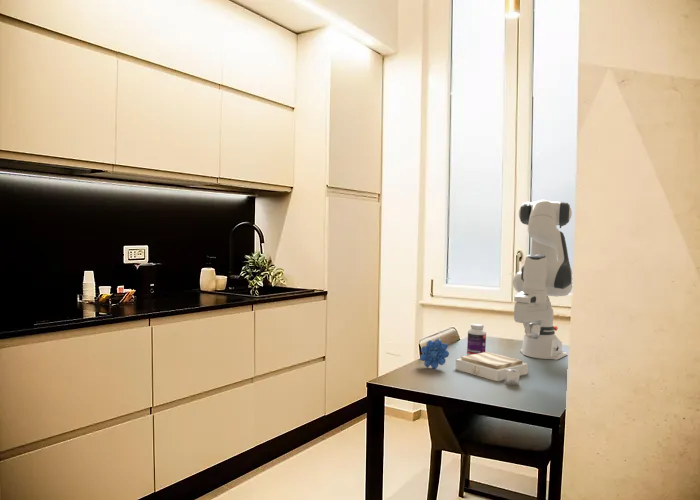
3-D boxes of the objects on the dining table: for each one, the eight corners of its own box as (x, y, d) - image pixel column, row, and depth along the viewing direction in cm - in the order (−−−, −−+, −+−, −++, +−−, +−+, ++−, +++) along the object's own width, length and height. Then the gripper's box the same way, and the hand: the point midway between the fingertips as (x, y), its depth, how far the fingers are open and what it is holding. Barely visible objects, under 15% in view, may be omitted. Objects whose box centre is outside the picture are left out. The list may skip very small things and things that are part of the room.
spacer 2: (530, 334, 200) (530, 322, 200) (541, 337, 196) (542, 324, 196) (522, 336, 197) (523, 323, 197) (534, 338, 193) (535, 325, 193)
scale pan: (487, 354, 218) (487, 351, 218) (522, 363, 205) (522, 360, 205) (461, 359, 208) (461, 356, 208) (496, 369, 194) (496, 366, 194)
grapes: (449, 367, 210) (451, 338, 210) (447, 371, 204) (448, 341, 204) (421, 364, 214) (423, 335, 214) (418, 367, 208) (419, 338, 207)
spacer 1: (510, 381, 193) (510, 368, 193) (521, 384, 189) (522, 371, 189) (502, 383, 190) (502, 369, 190) (513, 386, 186) (514, 373, 186)
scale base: (486, 362, 220) (486, 353, 220) (527, 373, 205) (528, 363, 205) (454, 369, 208) (455, 359, 208) (496, 381, 192) (496, 371, 192)
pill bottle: (485, 359, 227) (487, 326, 227) (467, 357, 229) (468, 325, 228) (484, 355, 235) (486, 323, 235) (466, 353, 237) (468, 322, 236)
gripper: (541, 294, 205) (540, 328, 206) (511, 297, 192) (509, 333, 193) (556, 296, 200) (554, 331, 201) (526, 299, 187) (524, 336, 188)
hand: (532, 332), depth 197 cm, fingers closed on spacer 2, 5 cm apart
